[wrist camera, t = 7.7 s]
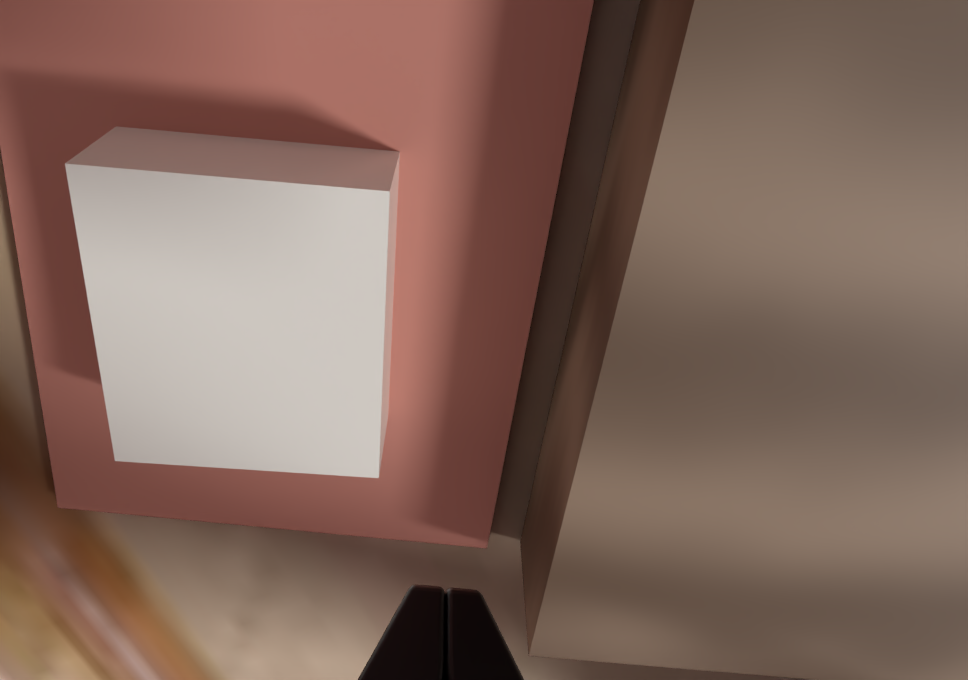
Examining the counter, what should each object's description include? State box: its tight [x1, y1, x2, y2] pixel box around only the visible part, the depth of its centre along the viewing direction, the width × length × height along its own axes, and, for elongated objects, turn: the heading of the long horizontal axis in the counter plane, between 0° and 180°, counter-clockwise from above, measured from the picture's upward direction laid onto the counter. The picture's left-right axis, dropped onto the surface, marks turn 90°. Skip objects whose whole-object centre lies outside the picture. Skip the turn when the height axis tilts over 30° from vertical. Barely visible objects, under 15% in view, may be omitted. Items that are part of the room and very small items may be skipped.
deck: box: [520, 0, 968, 680], centre depth 18 cm, size 18×12×4 cm, turn 172°
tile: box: [65, 126, 400, 478], centre depth 18 cm, size 7×6×2 cm
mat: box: [0, 0, 594, 548], centre depth 19 cm, size 18×12×1 cm, turn 172°
